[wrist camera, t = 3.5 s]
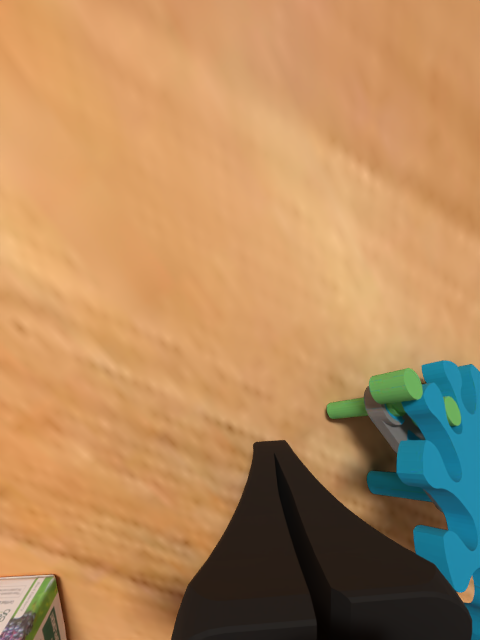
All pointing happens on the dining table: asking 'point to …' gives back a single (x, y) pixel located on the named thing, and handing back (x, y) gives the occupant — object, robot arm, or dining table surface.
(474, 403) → the gear
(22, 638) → the syrup box
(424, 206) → the dining table surface
